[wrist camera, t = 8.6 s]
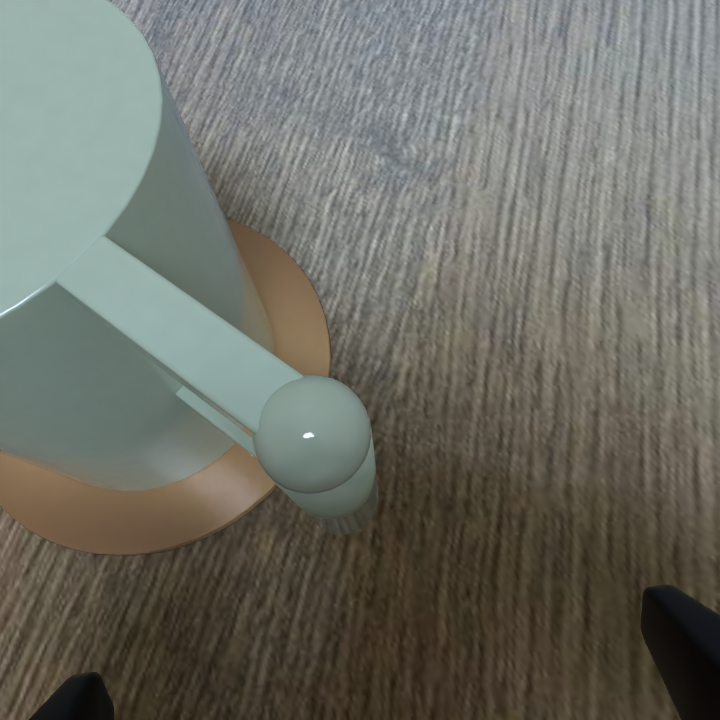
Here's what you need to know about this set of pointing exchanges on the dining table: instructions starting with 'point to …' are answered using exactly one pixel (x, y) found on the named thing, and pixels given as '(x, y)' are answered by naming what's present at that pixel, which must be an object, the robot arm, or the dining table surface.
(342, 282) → the dining table surface
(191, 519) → the coaster
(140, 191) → the jug
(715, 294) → the dining table surface
